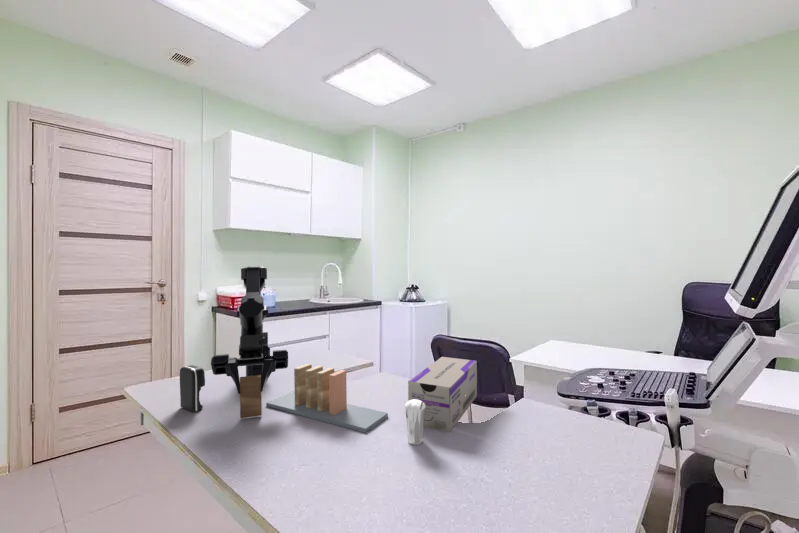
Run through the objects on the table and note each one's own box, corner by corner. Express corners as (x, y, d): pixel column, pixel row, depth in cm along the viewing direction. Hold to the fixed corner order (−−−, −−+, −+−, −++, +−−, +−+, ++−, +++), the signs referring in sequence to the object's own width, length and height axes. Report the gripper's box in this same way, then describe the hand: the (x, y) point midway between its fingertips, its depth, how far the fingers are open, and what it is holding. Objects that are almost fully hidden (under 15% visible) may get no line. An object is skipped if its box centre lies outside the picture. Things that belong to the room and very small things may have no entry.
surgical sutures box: (450, 432, 89) (450, 387, 88) (408, 424, 93) (408, 381, 93) (476, 396, 111) (476, 360, 111) (442, 391, 116) (441, 356, 115)
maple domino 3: (317, 410, 99) (317, 372, 98) (330, 404, 103) (329, 367, 103) (322, 412, 98) (321, 373, 98) (334, 405, 102) (334, 368, 102)
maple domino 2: (306, 407, 101) (305, 370, 100) (318, 401, 105) (318, 365, 105) (310, 409, 100) (310, 371, 100) (323, 402, 104) (322, 366, 104)
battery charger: (207, 408, 103) (206, 366, 103) (193, 413, 100) (192, 370, 100) (193, 403, 107) (192, 362, 107) (179, 407, 104) (178, 366, 103)
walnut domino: (240, 415, 97) (240, 377, 97) (261, 413, 98) (261, 374, 98) (240, 418, 95) (239, 378, 95) (261, 415, 97) (260, 376, 97)
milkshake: (413, 450, 80) (413, 403, 80) (401, 439, 85) (401, 395, 85) (431, 445, 82) (431, 399, 82) (418, 435, 87) (418, 391, 87)
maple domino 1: (294, 405, 103) (294, 368, 102) (307, 398, 107) (307, 363, 107) (299, 406, 102) (298, 369, 102) (312, 399, 106) (311, 364, 106)
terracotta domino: (329, 413, 97) (329, 374, 96) (341, 406, 101) (341, 369, 101) (334, 415, 96) (334, 375, 96) (346, 408, 100) (346, 370, 100)
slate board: (266, 406, 104) (266, 402, 104) (292, 394, 113) (292, 391, 113) (365, 432, 88) (365, 428, 88) (387, 416, 97) (387, 413, 97)
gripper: (211, 324, 97) (205, 380, 87) (287, 320, 103) (289, 372, 93) (216, 347, 105) (210, 402, 94) (286, 342, 111) (288, 393, 100)
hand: (250, 391), depth 95 cm, fingers closed on walnut domino, 5 cm apart
